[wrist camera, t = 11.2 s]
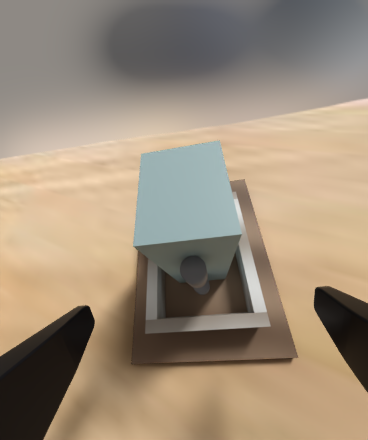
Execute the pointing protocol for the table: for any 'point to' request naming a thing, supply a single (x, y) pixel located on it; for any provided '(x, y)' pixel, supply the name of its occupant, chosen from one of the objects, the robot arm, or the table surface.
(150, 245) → the pale blue box
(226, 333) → the brown framed base board
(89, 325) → the robot arm
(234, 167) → the table surface
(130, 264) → the table surface
